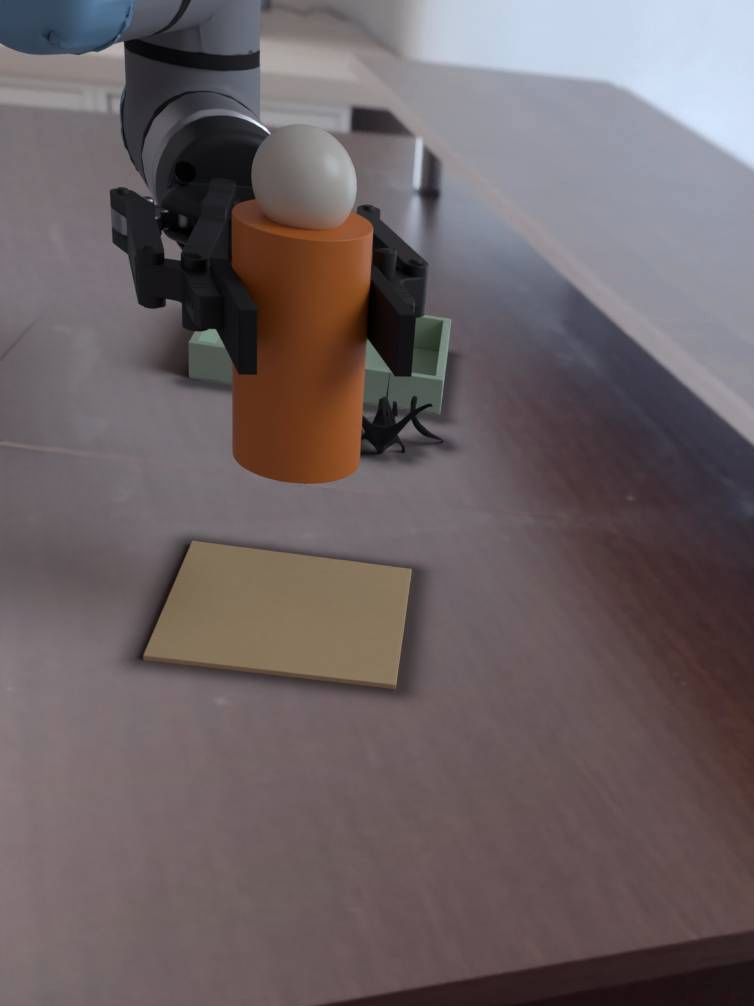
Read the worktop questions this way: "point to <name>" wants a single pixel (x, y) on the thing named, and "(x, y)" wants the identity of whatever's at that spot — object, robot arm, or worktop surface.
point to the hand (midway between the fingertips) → (328, 344)
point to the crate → (424, 382)
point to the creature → (392, 424)
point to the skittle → (302, 310)
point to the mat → (284, 616)
